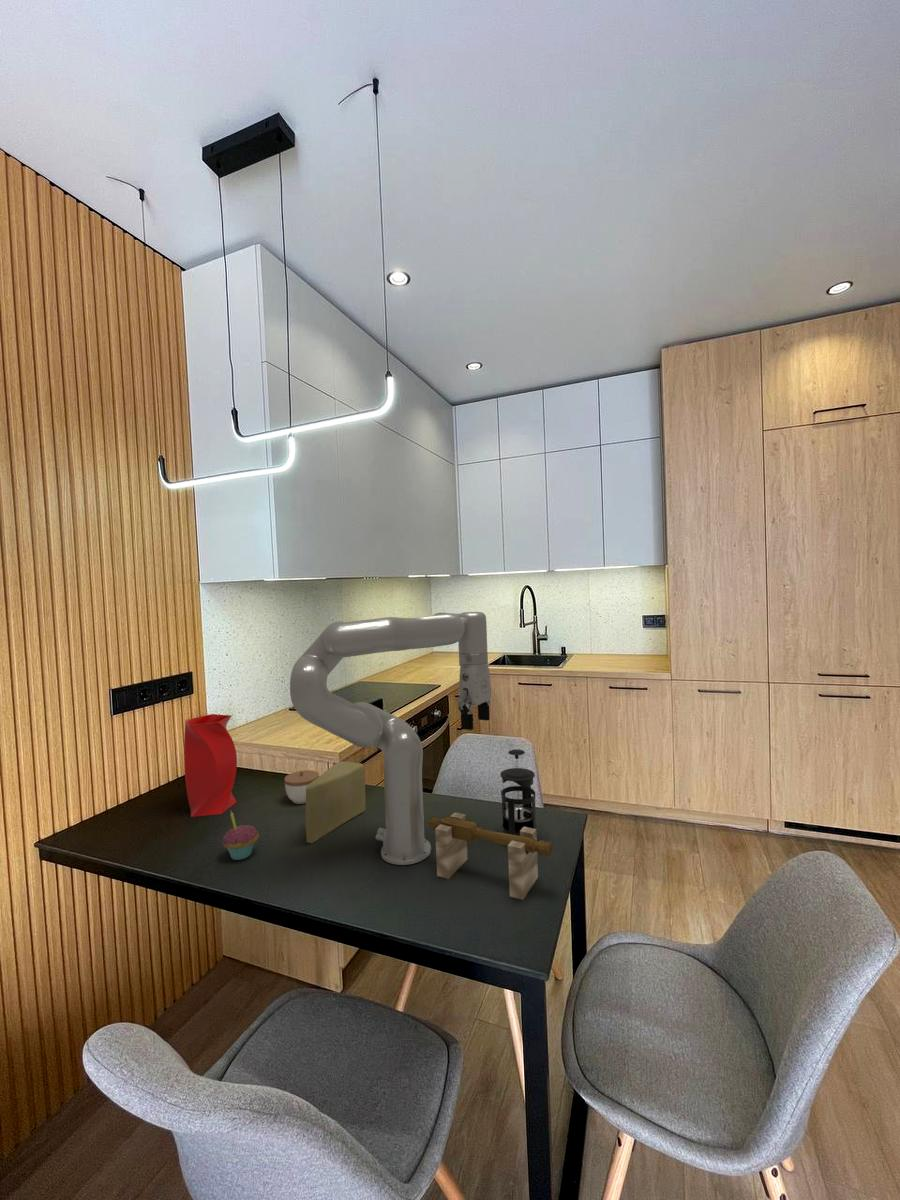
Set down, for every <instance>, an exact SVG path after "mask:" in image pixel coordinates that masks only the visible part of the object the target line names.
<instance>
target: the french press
mask: <svg viewBox="0 0 900 1200" xmlns="http://www.w3.org/2000/svg"><path fill="white" fill-rule="evenodd" d="M525 753H526V752H525V751H524V750H523V749H511V750H509V751H508V754H509V755H511V756H514V759H516V760H515V761H516V764H515V765H516V767H514V768H513V767H512V768H508V769H507V768H506V769H504V770H502V771H501V772H500V777H501V781H502V784H505V783H506V782H513V783H516V785H513V786H512V785H511V786H507V787H505V788H503V789H501V791H500V798H501V807H502V809H501V811H502V824H501V825H502V830H501V831H502V833H506V834H511V835H517V836H520V832H516V831H520V830H521V829H522V828H523V827H528V828H533V829H536V834H537V841H538V839H539V836H538V832H537V831H538V830H537V828H538V827H537V826H538V825H537V815H536V814H537V813H536V812H537V811H536V798H537V797H536V796H537V795H536V791H535V790H534V789H533V788H532V786H533V784H534V778H535V775H536V774H535V772H534V771H533V770H530V769H527V768H520V767H519V763H518V759H519V758H520V757H519V756H523V755H524V754H525ZM511 792H517V798H509V797H507V796H506V794H507V793H511ZM520 792H522V793H521V796H522V798H521V799H520ZM506 804H507V805H506ZM515 805H517V806H515ZM520 805H522V806H520Z"/></svg>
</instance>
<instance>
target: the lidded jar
mask: <svg viewBox="0 0 900 1200" xmlns="http://www.w3.org/2000/svg"><path fill="white" fill-rule="evenodd" d="M319 776H320V773H319V772H318V771H316V770H311V769H310V770H299V771H294V772H292V773H289V774H287V775H286V776H285V777H284V779H283V780H284V789H285V793H286V795H287V797H288V799H289V800H290V801H292V802H293V803H294V804H297V805H303V804H304V805H305V804H306V788H307V786H308V785H309V784H310V783H312V782H313V781H314V780H316V779H317V778H318V777H319Z"/></svg>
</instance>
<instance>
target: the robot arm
mask: <svg viewBox="0 0 900 1200" xmlns="http://www.w3.org/2000/svg"><path fill="white" fill-rule="evenodd" d="M487 629H488V627H487V615H486V614H485V613H484V612H482V611H466V612H465V611H464V612H461V613H454V612H453V613H451V612H450V613H449V612H436V613H434V614H433V615H430V616H423V617H398V616H397V617H396V616H393V617H392V616H389V617H379V618H373V619H372V618H371V619H362V620H354V621H335V622H331V623H330V624H328V626H327V627H325V629H324V630H323V631H321V632H320V634H319V636H318V637H317V638H316V639H315V641H314V642H312V643H311V645H310V646H309V647H308V648H307V649H306V650H305V651H304V652H303V653H302V654H301V655H300V657H299V658H298V659H297V660H296V661H295V662H294V664H293V666H292V670H291V671H290V672H291V673H290V680H289V696H290V700H291V704H292V705H293V707H294V710H295V711H296V712H297V713H298V714H299V716H300V717H301V718H303V719H304V720H305V721H307V722H309V723H311V724H312V725H315V726H316V727H319V728H320V729H323V730H324V731H326V732H328V733H329V734H332V735H333V736H336V737H338V738H341V739H342V740H345V741H346V742H349V743H350V744H352V745H354V746H356V747H360V748H371V747H374V748H377V749H379V750H381V751H382V755H383V788H384V789H383V792H384V811H385V828H384V827H379V828H378V829H377V831H376V835H375V840H377V841H381V842H382V844H383V845H382V847H381V849H380V856H381V858H382V860H384V861H385V862H387V863H389V864H392V865H397V866H406V865H407V866H408V865H413V864H416V863H417V864H418V863H420V862H423V860H425V859H426V858H427V857H429V856H430V855H431V851H432V846H431V842H430V841H429V840H427V839H426V838H425V824H424V821H425V819H424V797H423V794H424V793H423V758H424V757H423V756H424V751H423V745H422V741H421V739H420V736H419V735H418V733H417V732H416V731H415V730H414V729H413V728H412V727H411V725H410V724H409V723H408V722H406V721H405V720H403V719H402V718H400V717H397V716H396V715H394V714H391V713H389V712H387V711H385V710H383V709H381V708H379V707H377V706H375V705H374V704H371V703H369V702H364V701H357V702H351V701H350V700H349V701H348V699H345V698H343V697H342V696H340V695H337V694H335V693H332V692H331V691H330V689H328V687H327V685H328V683H327V682H328V677H329V675H330V674H331V672H332V671H333V670H334V669H335V668H336V667H337V666H338V664H339V663H340V662H341V661H342V660H343V658H351V657H359V656H364V655H365V656H366V655H370V654H371V655H373V654H379V653H389V652H400V651H402V652H403V651H407V650H416V649H417V650H418V649H420V650H421V649H429V648H436V647H442V646H450V645H455V644H456V643H458V664H459V665H458V666H459V680H458V682H459V684H458V686H459V690H458V691H459V696H458V697H457V699H456V702H457V706H458V710H459V714H460V728H461V730H467V731H472V730H474V713H472V711H473V708H474V706H477V718H478V720H480V721H490V719H491V718H490V715H491V713H490V705H491V702H490V701H491V699H492V686H491V683H492V682H491V675H490V669H489V659H488V658H489V655H488V654H489V653H488V632H487Z"/></svg>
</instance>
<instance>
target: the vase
mask: <svg viewBox="0 0 900 1200" xmlns="http://www.w3.org/2000/svg"><path fill="white" fill-rule="evenodd" d="M231 718H232V715H231V714H230V715H229V714H217V713H216V714H215V713H211V714H206V715H202V716H197V717H193V718H187V719H185V721H184V723H185V724H184V749H183V750H184V778H185V780H184V781H185V788H186V789H185V790H186V795H187V802H188V805H189V810H190V817H191V818H196V817H204V816H205V817H206V816H213V815H215V816H216V815H221V814H223V813H224V812H226V811H227V810H228V809H230V808H231V807H232V806H234V805H235V804H236V803H237V801H238V800H236V798H235V796H234V795H233V793H232V791H233V788H234V784H235V780H236V775H237V769H238V768H237V766H238V759H237V756H238V755H237V749H236V747H235V742H234V740H233V738H232V736H231V735H230V733H229V731H228V729H227V725H228V723H229V721H230V719H231Z"/></svg>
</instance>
